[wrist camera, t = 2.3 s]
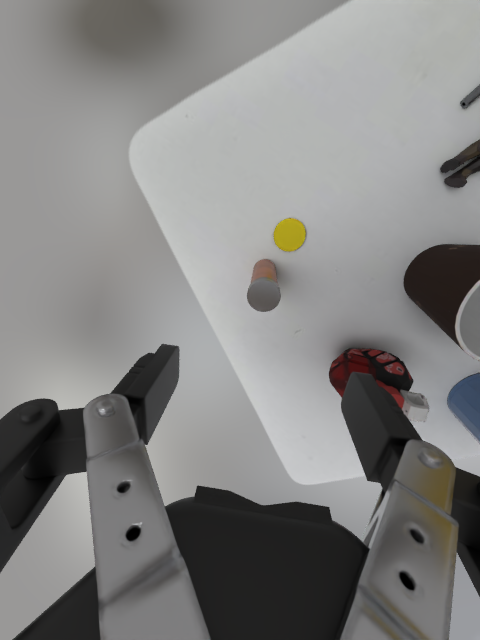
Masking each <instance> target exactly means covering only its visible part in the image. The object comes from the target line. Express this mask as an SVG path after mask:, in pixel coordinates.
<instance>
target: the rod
mask: <svg viewBox="0 0 480 640" xmlns="http://www.w3.org/2000/svg"><path fill="white" fill-rule="evenodd" d="M478 97H480V85H479V86H478V87H476V88H475V89H474V90H473V91H472V92H471V93H470V94H468V95H467V96H466V97H465V98H464V99H463V100H462V101H461V102H460V104H461V106H462V107H463V108H467V107H468V106H469V105H470V104H471V103H473V102H474V101H475V100H476V99H477V98H478Z"/></svg>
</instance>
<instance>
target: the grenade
mask: <svg viewBox="0 0 480 640" xmlns="http://www.w3.org/2000/svg"><path fill="white" fill-rule="evenodd" d="M352 372H359V373H366V374H371V375H372V376H373V377H374V379H375V381H376V382H377V384H378V385H379V387H383V388H384V389H385V390H387V391H388V392H389V393H390V394H391V395H392V396H393V397H394V399H395V400H396V402H397V403H398V405H399V407H400V408H401V409H402V411H403V412H404V414H405V415H406V417H407V418H408V419H409V420H412V421H418V422H425V421H426V418H427V415H428V412H429V405H428V403H427V399H426V397H425V396H424V395H422V394H421V393H420V394H418V393H412V392H409V390H410V388H411V386H412V383H413V379H412V377H411V375H410V374H409V372H408V370H407V368H406V366H405V364H404V362H403V361H400V359H399V358H398V357H396V356H394V355H392V354H391V353H387V352H385V351H380V350H375V349H353V348H350V349H348V350H346V351H345V352H344V353H342V354H341V355H340V356H339V357H338V358H337V359H335V360H334V361H333V362H332V364H331V367H330V371H329V378H330V382H331V384H332V386H333V387H334V388H335V389H336V391H337V392H338V393H339V395H340V396H341V397H343V394H344V391H345V388H346V386H347V383H348V380H349V377H350V375H351V373H352Z"/></svg>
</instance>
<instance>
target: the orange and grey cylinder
mask: <svg viewBox="0 0 480 640" xmlns="http://www.w3.org/2000/svg"><path fill="white" fill-rule="evenodd" d="M280 297H281V294H280V288H279V286H278V282H277V275H276V269H275V265H274V264H273V262H271V261H270V260H267V259H263V260H260V261H258V262H257V263H256V264H255V266H254V270H253V275H252V280H251V284H250V286H249V288H248V293H247V299H248V302H249V304H250V306H251V307H252V308H254V309H255V310H257V311H261V312H267V311H270V310H272V309H274V308H275V307H276V306H277V305H278V303H279V301H280Z"/></svg>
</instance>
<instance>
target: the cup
mask: <svg viewBox="0 0 480 640" xmlns="http://www.w3.org/2000/svg"><path fill="white" fill-rule="evenodd" d="M447 403H448V407H449V409H450V411H451V412H452V413H453V414H454V416H455V417H456V418H457V419H458V420H459V422H460V423H461V424H462V425H463V426H464V427H465V428H466V429H467V431H468V432H469V433H470V434H471V435H472V436H473V437H474V438H475V439H476V441H477V442H478V443H479V444H480V373H478V374H474V375H472V376H469V377H467V378H465V379H463V380H462V381H460V382H459V383H458V384H456V385H455V386H454V387H453V389H452V390H451V391H450V393H449V396H448V400H447Z"/></svg>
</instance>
